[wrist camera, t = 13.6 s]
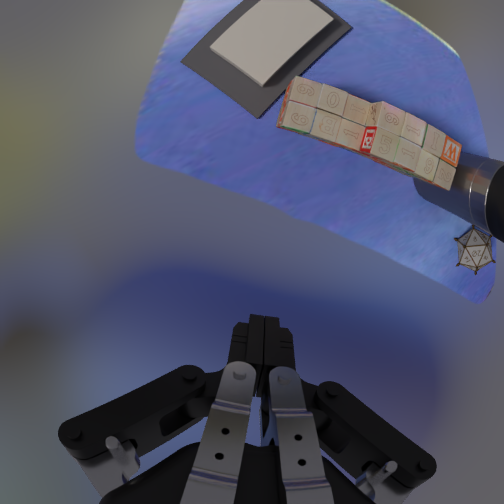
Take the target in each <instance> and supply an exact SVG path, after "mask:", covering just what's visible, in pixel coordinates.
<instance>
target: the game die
mask: <svg viewBox="0 0 504 504" xmlns="http://www.w3.org/2000/svg"><path fill="white" fill-rule="evenodd" d="M474 226H475V225H472V228H473V229H471V230H470V231H469V232H467V233H466V234H465V235H464V236H462V237H461V238H460V239H457V238H454V240H455V241H457V242H458V255H459V263H458V264H457V265H456V266H459V265H460V264H461V265H463V266H465V267H467V268H469V269H471V270H473V271H475V272H474V274H475V275H476V274H477V271H478V270H479V269H481V268H482V267H484V266H485V265H487V264H488V263H490V262H491V261H492V262H493V263H496V262H495V260H492V249H491V239H490V238H491V237H492V235H490V236H488V235H486V234H484V233H482V232H480V231H478V230H476V229H474Z"/></svg>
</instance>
